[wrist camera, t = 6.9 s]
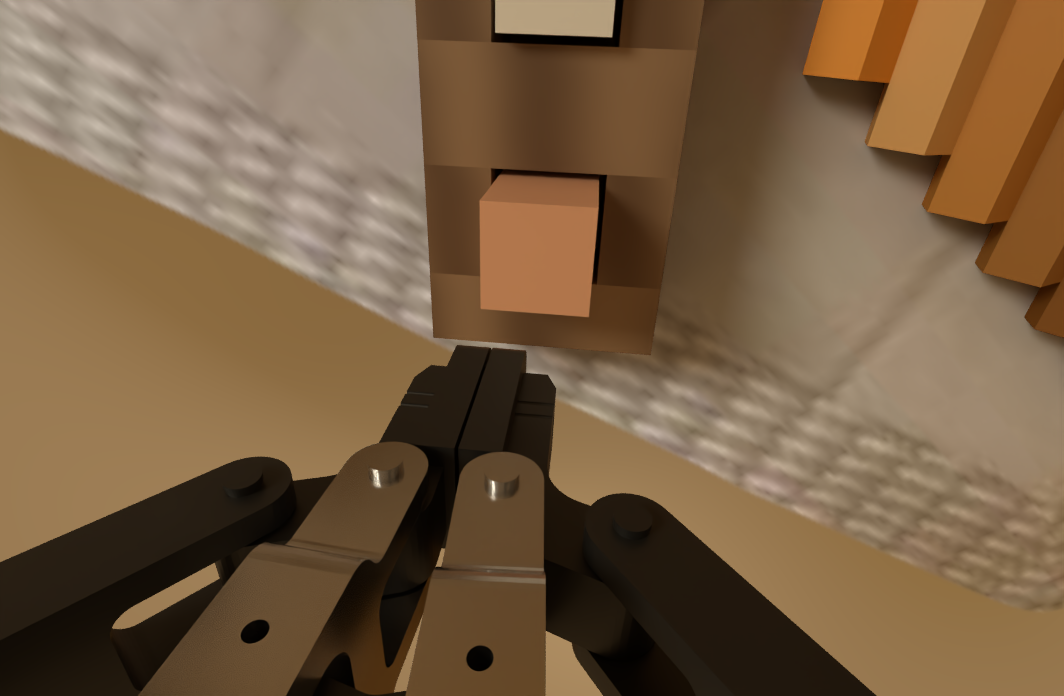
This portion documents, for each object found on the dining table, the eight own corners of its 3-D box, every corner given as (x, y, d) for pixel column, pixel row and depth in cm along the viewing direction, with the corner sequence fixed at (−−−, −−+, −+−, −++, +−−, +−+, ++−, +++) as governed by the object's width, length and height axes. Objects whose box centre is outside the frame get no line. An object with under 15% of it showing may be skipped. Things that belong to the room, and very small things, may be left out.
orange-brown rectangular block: (599, 174, 24) (598, 207, 19) (591, 265, 26) (588, 317, 21) (503, 169, 24) (479, 200, 19) (502, 259, 26) (480, 308, 21)
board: (709, -185, 21) (743, -259, 16) (642, 302, 31) (650, 355, 26) (448, -187, 22) (401, -258, 17) (461, 288, 32) (433, 337, 26)
